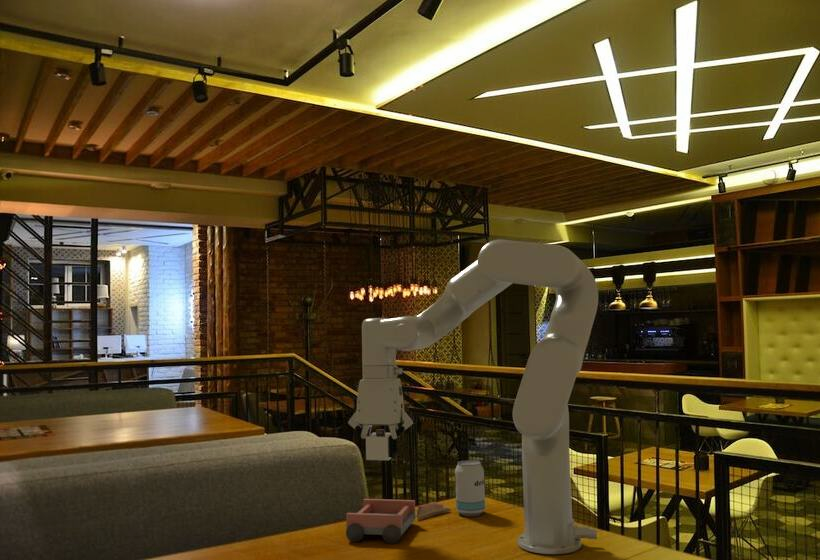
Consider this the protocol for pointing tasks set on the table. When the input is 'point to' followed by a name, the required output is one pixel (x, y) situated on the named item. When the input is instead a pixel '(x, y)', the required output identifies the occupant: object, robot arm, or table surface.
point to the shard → (431, 510)
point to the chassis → (381, 519)
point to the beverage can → (470, 488)
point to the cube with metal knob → (378, 445)
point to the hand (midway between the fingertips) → (380, 455)
